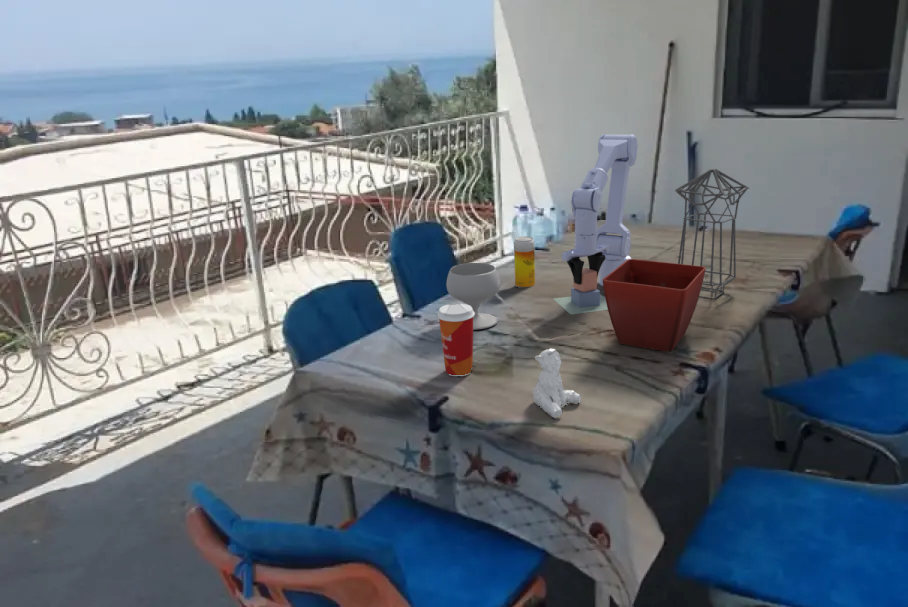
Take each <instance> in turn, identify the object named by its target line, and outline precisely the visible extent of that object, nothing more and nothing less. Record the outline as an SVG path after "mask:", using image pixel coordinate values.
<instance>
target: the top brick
mask: <svg viewBox="0 0 908 607" xmlns="http://www.w3.org/2000/svg"><path fill="white" fill-rule="evenodd" d="M572 284H573V285H572V287H573V288H574V289H577V290H580V291H582V292H586V291H590V290H595V289H597V290H598V276H597V271H594V270H591V269H589V267H585V268H583V269H582V282H581V284H580V285H578V284H576V283H575V282H574V278H573V281H572Z"/></svg>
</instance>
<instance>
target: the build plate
mask: <svg viewBox="0 0 908 607" xmlns="http://www.w3.org/2000/svg"><path fill="white" fill-rule="evenodd" d="M552 300H553V301H554V302H556V303H557V304H558V305H559V306H560V307H561V308H562V309H564V310H565V311H566V312H567V313H568V314H569V315H579V314H585V313H586V314H588V313H593V312H601V311H603V312H604V311H608V308H607V303H606V299H605V295H602V294H601V293H600V305H599V306H591V307H583V308H579V307H577V306H576V305H575V304H574V303H573V302H571V295H570V296H564V297H554V298H552Z"/></svg>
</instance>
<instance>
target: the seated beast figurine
mask: <svg viewBox="0 0 908 607" xmlns="http://www.w3.org/2000/svg"><path fill="white" fill-rule="evenodd" d="M534 360H535V361H537V362H538V363H539V366H540V368H541V369H542V371H540V373H539V374H538V378H537V383H536V384H535V385H534V386H533V387H532V390H531V392H532V399H533V401H534V403H535V404H536V405H537V406H538V407H539V406H540V407H539V408H540V409H541V408H542V409H543V410H542V409H541V410H542V411H544V412H545V413H546V412H547V413H546V414H547V415H549V414H550V415H551V416H552V417H554V418H553V419H556V418H555V417H556V416H560V415H561V416H562V414H563V409H562V407H561V406H565V405H567V403H566V402H569V403H579V404H578V405H581V399H582V395H581V394H579V393H577V392H575V391H574V390H573V389H571V390H570V389H566V390H565V389H564V386H563V381H562V375H561V373H560V370H561V364H562V360H561V357H560V353H559V352H558V351H557V350H556V348H549V349H545V350H542V351H541V353H540V354H539V355H535V356H534ZM567 406H568V405H567ZM550 415H549V416H550ZM551 416H550V417H551ZM561 416H560V417H561ZM552 417H551V418H552Z"/></svg>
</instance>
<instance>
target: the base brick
mask: <svg viewBox="0 0 908 607" xmlns="http://www.w3.org/2000/svg"><path fill="white" fill-rule="evenodd" d="M600 294H601V291H600V290H599V289H598V288H597V289H595V290H590V291H586V292H582V291H580V290H577V289H574V288H573V286H572V287H571V288H570V296H571V302H573V303H574V304H575V305H576V306H577V307H579V308H583V307H591V306H599V305H600Z"/></svg>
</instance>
